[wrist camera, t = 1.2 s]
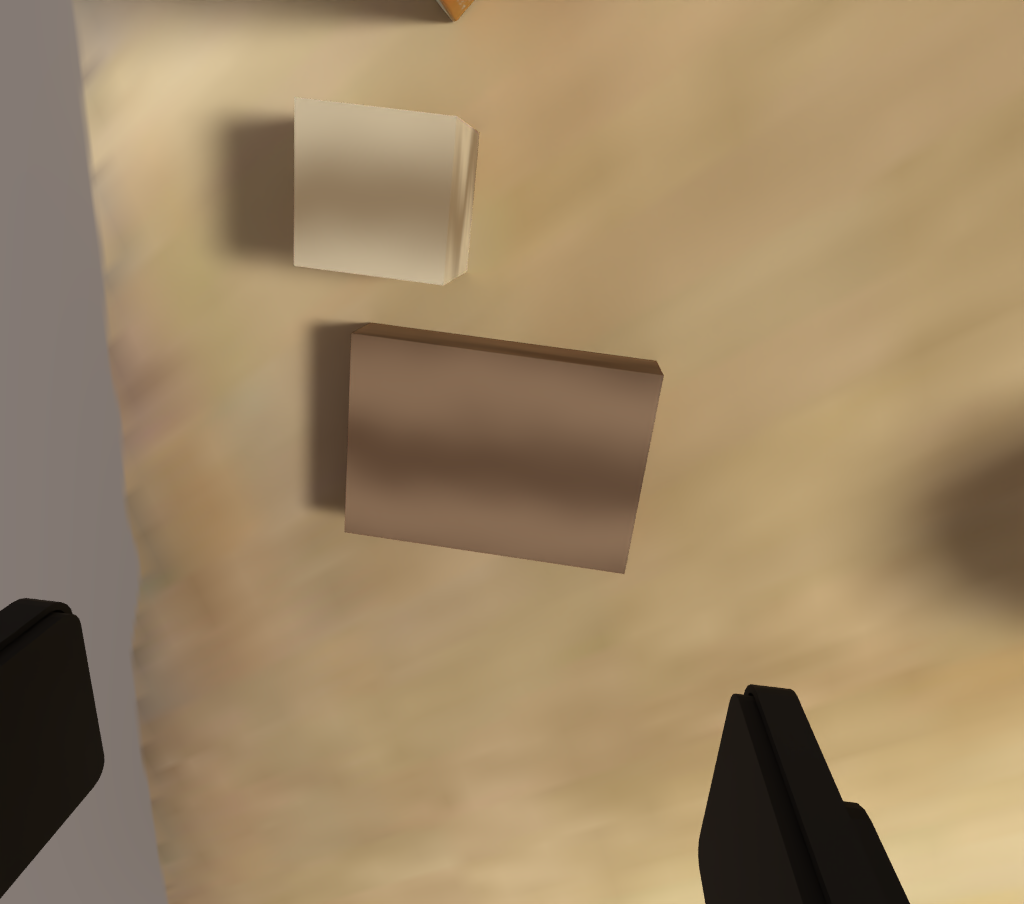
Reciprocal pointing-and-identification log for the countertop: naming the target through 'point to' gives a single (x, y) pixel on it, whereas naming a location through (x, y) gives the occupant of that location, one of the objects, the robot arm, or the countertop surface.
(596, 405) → the walnut board
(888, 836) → the countertop surface
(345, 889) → the countertop surface
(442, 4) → the small box
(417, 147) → the maple cube
